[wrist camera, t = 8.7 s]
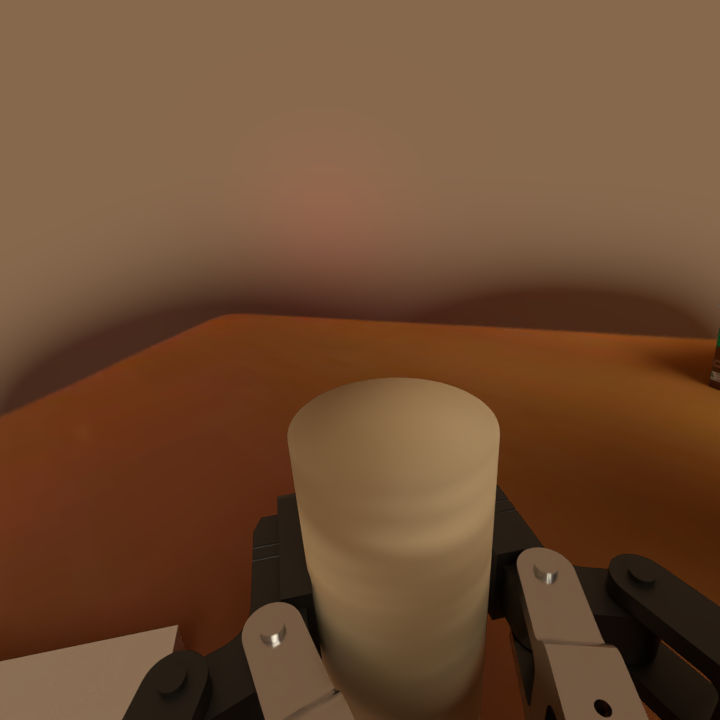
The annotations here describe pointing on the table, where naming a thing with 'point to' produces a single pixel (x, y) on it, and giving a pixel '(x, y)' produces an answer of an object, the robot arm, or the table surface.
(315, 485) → the peg
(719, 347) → the food container
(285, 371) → the table surface
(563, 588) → the robot arm
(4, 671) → the beige flat square frame
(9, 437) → the table surface
